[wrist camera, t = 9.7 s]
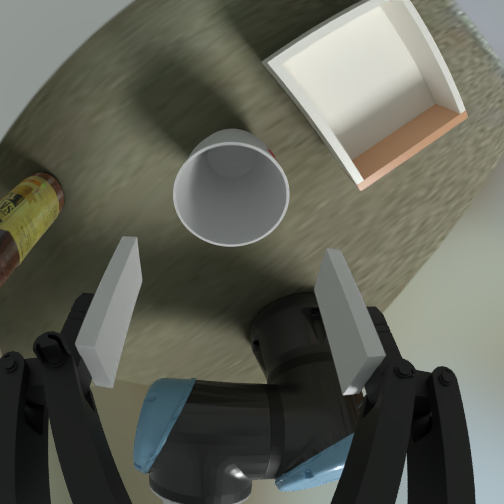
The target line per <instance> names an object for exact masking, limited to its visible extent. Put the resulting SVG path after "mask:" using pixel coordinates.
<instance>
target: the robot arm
mask: <svg viewBox="0 0 504 504" xmlns="http://www.w3.org/2000/svg"><path fill="white" fill-rule="evenodd" d="M142 281H143V280H142V273H141V266H140V258H139V250H138V241H137V237H128V236H122V238H121V240H120V242H119V244H118V246H117V248H116V250H115V252H114V254H113V256H112V258H111V260H110V262H109V265H108V267H107V269H106V271H105V273H104V275H103V277H102V280H101V282H100V284H99V286H98V288H97V291H96V293H95V294H90V293H82V294H81V295H80V296H79V297H78V298H77V299H76V300H75V302H74V304H73V306H72V309H71V312H70V313H69V315H68V319H67V320H66V322H65V324H64V326H63V329H62V331H61V333H60V334H59V333H57V332H54V331H53V332H46V333H44V334H41V335H40V336H39V337H38V338H37V339H36V341H35V342H34V344H33V351H34V353H35V354H36V356H37V357H38V358H30V359H24V358H23V356H22V355H21V354H20V353H18V352H14V351H12V352H8V353H6V354H4V355H3V356H2V357H1V359H0V504H51V500H50V488H49V470H48V421H49V419H50V424H51V429H52V434H53V438H54V442H55V446H56V450H57V454H58V457H59V462H60V465H61V469H62V472H63V475H64V479H65V482H66V485H67V488H68V491H69V494H70V497H71V500H72V502H73V504H132V502H131V500H130V498H129V495H128V493H127V491H126V489H125V487H124V484H123V482H122V479H121V477H120V475H119V472H118V470H117V467H116V464H115V462H114V459H113V457H112V454H111V451H110V448H109V446H108V443H107V440H106V437H105V434H104V431H103V428H102V425H101V422H100V419H99V415H98V412H97V408H96V405H95V401H94V398H93V394H92V391H91V389H90V383H91V380H92V379H93V381H94V383H95V385H97V386H102V387H108V388H113V386H114V381H115V377H116V373H117V369H118V365H119V361H120V357H121V353H122V349H123V345H124V342H125V338H126V334H127V331H128V327H129V324H130V320H131V317H132V313H133V310H134V306H135V303H136V300H137V297H138V293H139V290H140V287H141V284H142ZM314 292H315V293H312V292H311V293H299V294H294V295H290V296H287V297H284V298H281V299H279V300H277V301H275V302H273V303H271V304H270V305H268V306H267V307H265V308H264V309H263V310H262V311H261V312H260V313H259V314H258V315H257V316H256V317H255V319H254V320H253V322H252V325H251V329H250V339H251V347H252V351H253V353H254V355H255V357H256V359H257V361H258V363H259V365H260V367H261V369H262V371H263V373H264V375H265V377H266V379H267V384H251V383H231V382H216V381H204V380H196V378H191V379H176V378H161V379H159V380H157V381H155V382H154V383H153V384H152V385H151V386H150V388H149V390H148V392H147V394H146V397H145V399H144V402H143V405H142V409H141V412H140V416H139V420H138V424H137V430H136V435H135V441H134V451H133V460H134V467H135V469H136V470H138V471H141V472H142V473H149V482H150V488H151V490H152V491H153V492H154V494H156V495H157V496H158V497H160V498H161V499H162V500H163V504H241V503H242V502H244V501H245V500H247V499H248V498H249V496H250V494H251V486H252V480H257V479H275V480H276V481H275V485H276V486H277V487H278V489H279V490H280V491H297V490H302V489H307V488H312V487H316V486H319V485H323V484H326V483H329V482H332V481H335V480H338V479H339V482H338V485H337V488H336V491H335V493H334V496H333V499H332V501H331V504H395V501H396V498H397V494H398V490H399V486H400V482H401V477H402V473H403V468H404V463H405V458H406V453H407V472H408V504H476V503H475V486H474V475H473V465H472V457H471V449H470V443H469V436H468V430H467V425H466V419H465V413H464V409H463V403H462V399H461V394H460V390H459V385H458V382H457V378H456V376H455V374H454V373H453V372H452V370H450V369H449V368H447V367H443V366H441V367H437V368H436V369H434V371H433V372H432V373H430V372H424V371H419V370H416V369H415V368H414V366H413V365H412V364H411V363H410V362H409V361H407V360H405V359H403V358H402V357H401V354H400V352H399V350H398V347H397V345H396V342H395V340H394V338H393V336H392V333H390V329H389V327H388V325H387V322H386V320H385V318H384V315H383V314H382V313H381V312H380V311H379V310H378V309H377V308H376V307H366V305H365V303H364V301H363V299H362V296H361V294H360V292H359V289H358V287H357V285H356V283H355V280H354V278H353V276H352V274H351V272H350V269H349V267H348V265H347V263H346V261H345V259H344V256H343V254H342V252H341V250H340V249H327V248H326V251H325V254H324V258H323V261H322V264H321V268H320V271H319V274H318V278H317V281H316V284H315V287H314ZM364 387H365V390H366V393H367V394H366V395H365V397H363V393H362V389H363V388H364Z"/></svg>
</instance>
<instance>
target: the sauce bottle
mask: <svg viewBox="0 0 504 504" xmlns="http://www.w3.org/2000/svg"><path fill="white" fill-rule="evenodd" d="M63 204H64V193H63V190H62V188H61V186H60V184H59V183H58V181H57V180H56V179H55V178H54V177H52V176H51V175H49V174H47V173H36V174H33V175H31V176H30V177H28V178H26V179H24V180H23V181H22V182H21V183H20V184H18V185H17V186H16V187H15V188H14V189H12V190H11V191H10V192H9V193H8V194H7V195H5V196H4V197H3V198H2V199H1V200H0V287H2V285H3V284H4V283H5V282H6V281H7V280H8V278H9V277H10V275H11V274H12V272H13V271H14V270H15V269H16V268H17V267H18V266H19V265H20V263H21V262H22V261H23V259H24V258H25V257H26V255H27V254H28V253H29V251H30V250H31V249H32V248H33V246H34V245H35V244H36V243H37V241H38V240H39V239H40V238H41V236H42V235H43V234H44V233H45V232H46V230H47V229H48V228H49V227H50V225H51V224H52V223H53V222H54V221H55V219H56V218H57V216H58V214H59V213H60V212H61V210H62V207H63Z"/></svg>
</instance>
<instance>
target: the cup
mask: <svg viewBox="0 0 504 504" xmlns="http://www.w3.org/2000/svg"><path fill="white" fill-rule="evenodd" d="M173 200H174V206H175V209H176V212H177V214H178V216H179V218H180V220H181V222H182V223H183V224H184V226H185V227H186V228H187V229H188V230H189V231H190V232H191V233H193V234H194V235H195V236H197V237H198V238H200V239H202V240H204V241H206V242H209V243H211V244H215V245H219V246H228V247H234V246H243V245H247V244H251V243H254V242H256V241H258V240H260V239H262V238H264V237H265V236H267V235H268V234H270V233H271V232H272V231H273V230H274V229H275V228H276V227H277V226H278V225H279V223H280V222H281V221H282V219H283V217H284V215H285V213H286V211H287V207H288V203H289V185H288V181H287V178H286V175H285V173H284V171H283V170H282V168H281V166H280V164H279V163H278V161H277V159H276V158H275V156H274V155H273V153H272V151H271V150H270V149H269V147H268V146H267V145H266V144H265V143H263V142H262V141H261V140H260V139H258V138H257V137H256V136H254V135H253V134H251V133H249V132H247V131H244V130H241V129H224V130H220V131H217V132H215V133H213V134H212V135H210V136H209V137H207V138H206V139H204V140H203V141H201V142H200V143H199V144H198V145H197V146H196V147H195V148H194V149H193V151H192V152H191V154H190V155H189V157H188V158H187V160H186V161H185V163H184V164H183V166H182V167H181V169H180V171H179V172H178V175H177V177H176V180H175V183H174V189H173Z"/></svg>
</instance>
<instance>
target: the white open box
mask: <svg viewBox="0 0 504 504" xmlns="http://www.w3.org/2000/svg"><path fill="white" fill-rule="evenodd" d="M261 63H262V64H263V65H264V66H265V67H266V69H267V70H268V71H269V72H270V73H271V75H272V76H273V77H274V78H275V79H276V81H277V82H278V83H279V84H280V85H281V87H282V88H283V89H284V90H285V92H286V93H287V94H288V95H289V97H290V98H291V99H292V100H293V102H294V103H295V104H296V106H297V107H298V108H299V110H300V111H301V112H302V113H303V115H304V116H305V117H306V119H307V120H308V121H309V123H310V124H311V125H312V127H313V128H314V130H315V131H316V132H317V134H318V135H319V136H320V138H321V139H322V141H323V142H324V143H325V145H326V146H327V148H328V149H329V151H330V152H331V153H332V155H333V156H334V158H335V159H336V161H337V162H338V164H339V165H340V167H341V168H342V169H343V171H344V172H345V173H346V174H347V175H348V176H349V178H350V179H351V180H352V181H353V182H354V184H355V185H356V186H357V187H358V188H359V190H360V191H362V190H363V189H365V188H366V187H368V186H369V185H371V184H372V183H374V182H375V181H377V180H378V179H380V178H381V177H382V176H384V175H385V174H387V173H388V172H390V171H391V170H393V169H394V168H396V167H397V166H398V165H400V164H401V163H403V162H404V161H406V160H407V159H409V158H410V157H411V156H413V155H414V154H416V153H417V152H419V151H420V150H422V149H423V148H424V147H426V146H427V145H429V144H430V143H432V142H433V141H435V140H436V139H437V138H439V137H440V136H442V135H443V134H445V133H446V132H447V131H449V130H450V129H452V128H453V127H455V126H456V125H457V124H459V123H460V122H462V121H463V120H465V119H466V118H467V117H468V115H467V113H466V110H465V107H464V105H463V102H462V100H461V97H460V95H459V92H458V90H457V88H456V85H455V83H454V81H453V78H452V76H451V74H450V72H449V70H448V67H447V65H446V63H445V61H444V59H443V57H442V55H441V53H440V51H439V49H438V47H437V45H436V44H435V42H434V40H433V38H432V36H431V34H430V33H429V31H428V29H427V27H426V26H425V24H424V22H423V20H422V19H421V17H420V15H419V14H418V12H417V11H416V9H415V7H414V6H413V4H412V3H411V1H410V0H361V1H359V2H357V3H355V4H354V5H352V6H350V7H348V8H346V9H344V10H342V11H341V12H339V13H337V14H335V15H333V16H332V17H330V18H328V19H327V20H325V21H323V22H321V23H320V24H318V25H316V26H315V27H313V28H311V29H310V30H308V31H307V32H305V33H303V34H302V35H300V36H299V37H297V38H296V39H294V40H293V41H291V42H289V43H288V44H286V45H285V46H283V47H282V48H280V49H279V50H278V51H276V52H275V53H273V54H272V55H270V56H269V57H267V58H266V59H265V60H263V61H262V62H261Z"/></svg>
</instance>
